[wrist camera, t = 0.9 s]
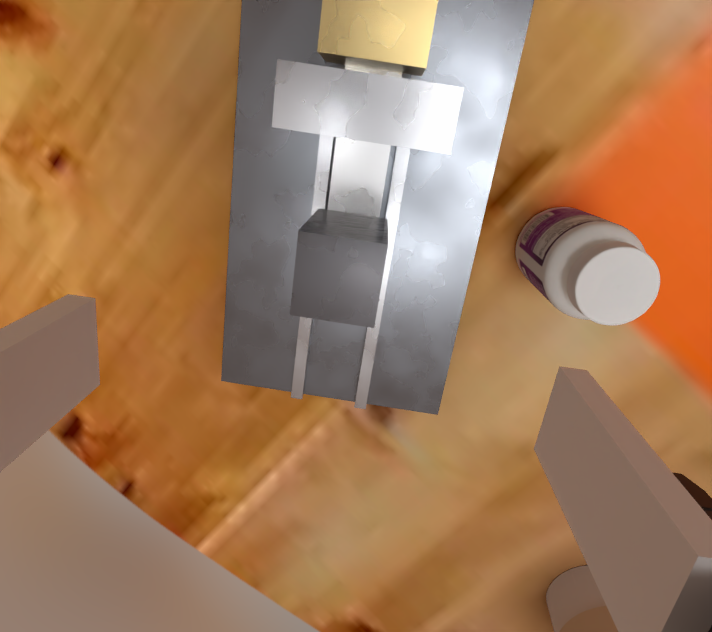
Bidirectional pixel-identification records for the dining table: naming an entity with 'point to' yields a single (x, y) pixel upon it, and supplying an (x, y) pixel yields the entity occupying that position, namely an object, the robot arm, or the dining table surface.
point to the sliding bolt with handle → (345, 237)
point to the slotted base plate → (399, 203)
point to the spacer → (378, 34)
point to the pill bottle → (587, 266)
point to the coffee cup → (578, 603)
